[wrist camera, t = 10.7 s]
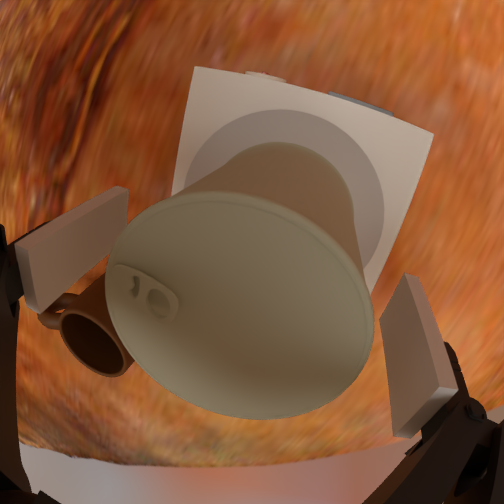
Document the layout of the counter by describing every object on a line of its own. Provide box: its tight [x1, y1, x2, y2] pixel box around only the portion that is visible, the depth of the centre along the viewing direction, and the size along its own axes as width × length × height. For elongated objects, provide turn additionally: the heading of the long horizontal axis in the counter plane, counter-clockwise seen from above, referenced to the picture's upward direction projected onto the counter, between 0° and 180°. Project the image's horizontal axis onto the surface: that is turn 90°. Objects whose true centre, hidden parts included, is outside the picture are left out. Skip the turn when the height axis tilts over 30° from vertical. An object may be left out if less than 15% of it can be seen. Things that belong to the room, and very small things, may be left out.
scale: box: [171, 66, 434, 294], centre depth 22 cm, size 16×16×5 cm
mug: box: [37, 272, 135, 377], centre depth 28 cm, size 12×8×9 cm, turn 83°
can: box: [105, 142, 374, 420], centre depth 15 cm, size 9×9×12 cm
